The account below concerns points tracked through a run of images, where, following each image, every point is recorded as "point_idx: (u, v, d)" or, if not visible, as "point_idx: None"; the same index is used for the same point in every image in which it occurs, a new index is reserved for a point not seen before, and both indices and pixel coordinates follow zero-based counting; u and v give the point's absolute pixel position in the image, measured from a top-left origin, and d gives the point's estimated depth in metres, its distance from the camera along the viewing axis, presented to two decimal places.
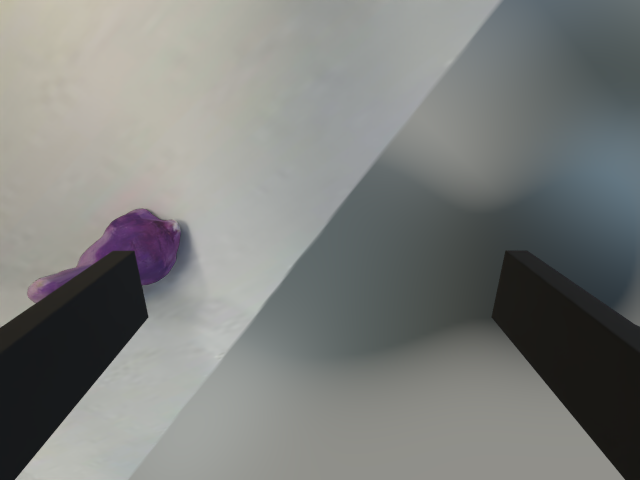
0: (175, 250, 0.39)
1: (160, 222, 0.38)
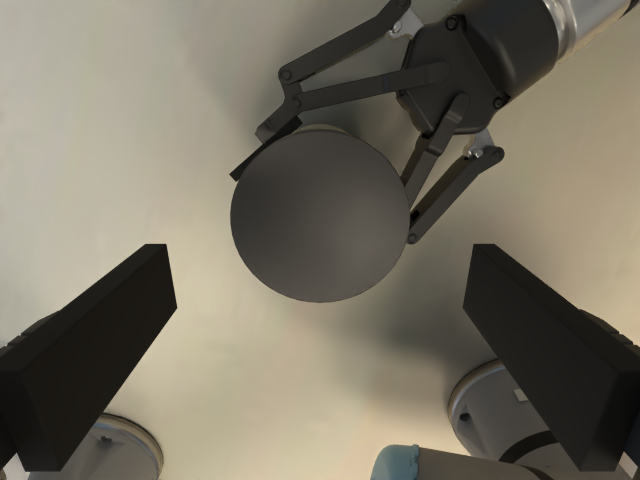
0: None
1: None
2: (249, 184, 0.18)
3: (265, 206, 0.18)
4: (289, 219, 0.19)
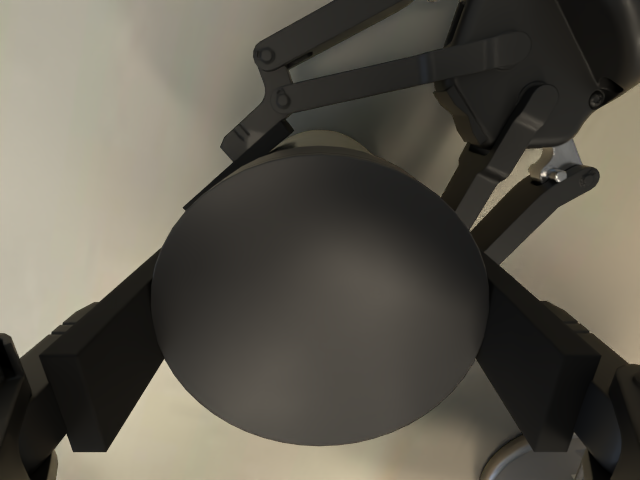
0: None
1: None
2: (182, 256, 0.09)
3: (216, 294, 0.10)
4: (262, 316, 0.10)
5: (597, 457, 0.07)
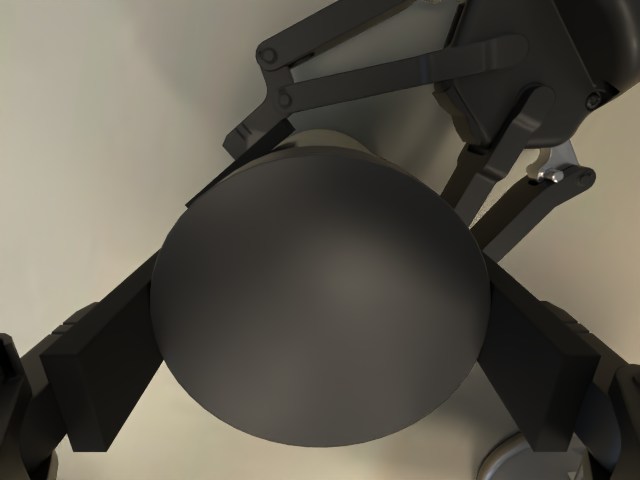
0: None
1: None
2: (274, 429, 0.11)
3: (304, 407, 0.11)
4: (319, 373, 0.11)
5: (596, 457, 0.07)
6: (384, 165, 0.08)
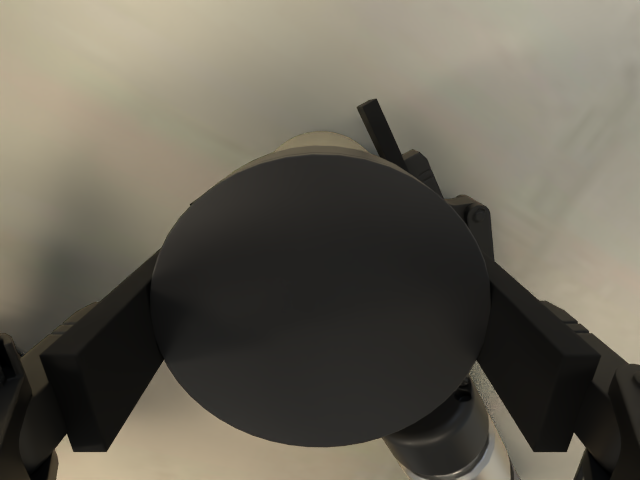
0: None
1: None
2: (274, 429, 0.11)
3: (304, 407, 0.11)
4: (319, 373, 0.11)
5: (596, 457, 0.07)
6: (384, 165, 0.08)
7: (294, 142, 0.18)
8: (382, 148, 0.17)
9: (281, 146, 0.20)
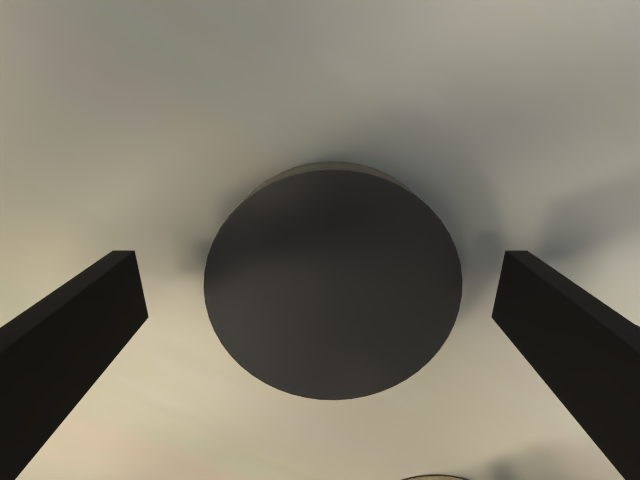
0: None
1: None
2: (294, 383, 0.14)
3: (319, 365, 0.14)
4: (331, 337, 0.14)
5: None
6: (379, 177, 0.12)
7: None
8: None
9: None
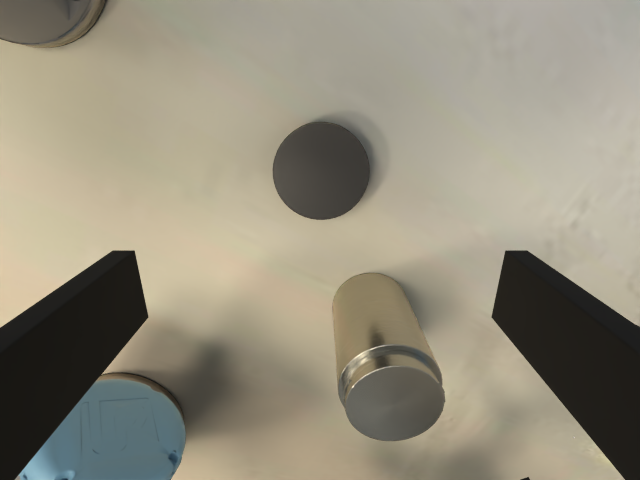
0: None
1: None
2: (306, 212, 0.36)
3: (316, 203, 0.36)
4: (321, 190, 0.36)
5: None
6: (337, 125, 0.33)
7: (366, 302, 0.35)
8: None
9: (354, 294, 0.38)
